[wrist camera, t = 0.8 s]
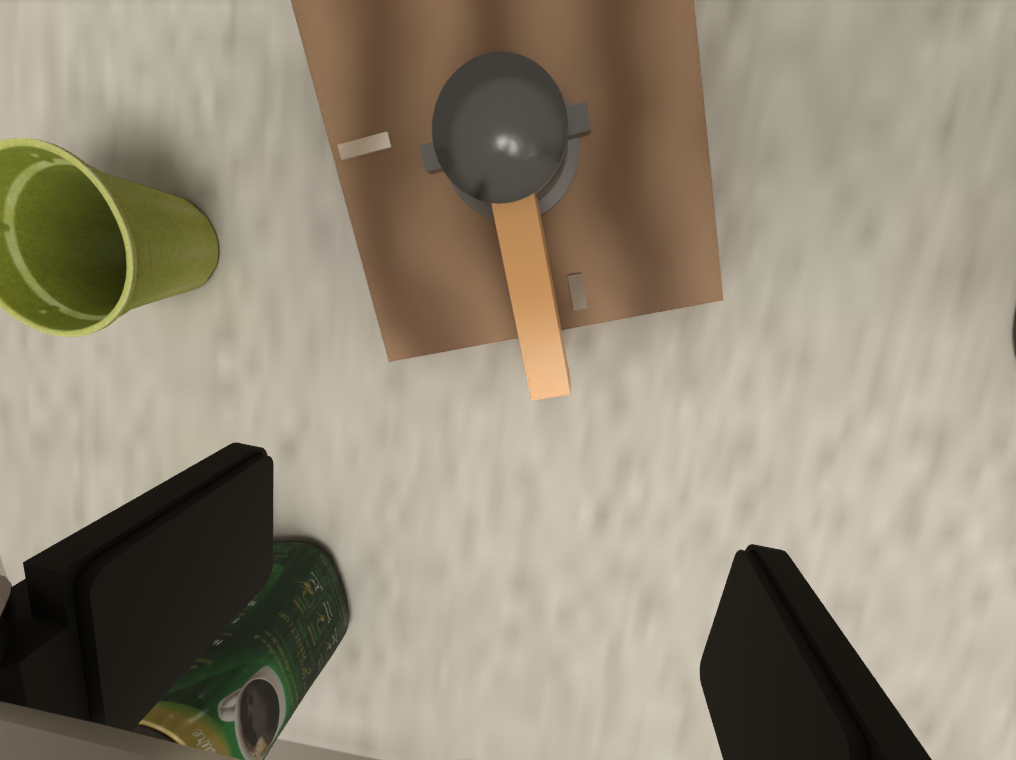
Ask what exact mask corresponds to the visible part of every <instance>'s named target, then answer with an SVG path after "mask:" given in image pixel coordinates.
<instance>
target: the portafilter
mask: <svg viewBox="0 0 1016 760" xmlns="http://www.w3.org/2000/svg"><path fill="white" fill-rule="evenodd" d="M590 133H591V127H590V120H589V113H588V107H587V101H586V102H582V103H578V104H575V105H571V106H567V107H566V106H565V102H564V99H563V97H562V94H561V92H560V90H559V88H558V86H557V84H556V83H555V81H554V80H553V78H552V77H551V76H550V75H549V73H548V72H547V71H546V70H545V69H544V68H543V67H541V66H540V65H539V64H538V63H536V62H535V61H533V60H531V59H530V58H527V57H525V56H523V55H520V54H516V53H512V52H491V53H486V54H483V55H480V56H477V57H475V58H473V59H471V60H469V61H467V62H466V63H465V64H463V65H462V66H461V67H459V68H458V69H457V70H456V71H455V72H454V73H453V74H452V75H451V77H450V78H449V79H448V80H447V82H446V83H445V85H444V86H443V88H442V90H441V92H440V94H439V96H438V98H437V101H436V105H435V108H434V113H433V118H432V139H433V142H430V143H426V144H423V145H419V146H420V150H421V154H422V159H423V163H424V167H425V172H427V173H429V174H431V175H432V174H436V173H440V172H444V173H445V174H446V175H447V177H448V178H449V179H450V181H451V182H452V183H453V184H454V185H455V186H456V187H457V188H459V189H460V190H461V191H462V192H464V193H466V194H467V195H469V196H471V197H473V198H474V199H476V200H478V201H480V202H482V203H484V204H486V205H488V206H491V207H492V209H493V214H494V219H495V224H496V229H497V234H498V239H499V244H500V249H501V253H502V258H503V263H504V268H505V273H506V278H507V283H508V288H509V293H510V298H511V303H512V308H513V313H514V317H515V322H516V327H517V332H518V337H519V342H520V347H521V352H522V357H523V362H524V367H525V372H526V377H527V381H528V386H529V391H530V396H531V401H533V400H539V399H546V398H552V397H558V396H564V395H570V394H571V388H570V374H569V368H568V363H567V357H566V352H565V346H564V341H563V335H562V330H561V324H560V319H559V313H558V308H557V302H556V297H555V291H554V286H553V280H552V274H551V269H550V263H549V258H548V252H547V247H546V241H545V236H544V230H543V225H542V219H541V214H540V208H539V203H538V201H539V200H541V199H542V198H543V197H545V196H546V195H547V194H548V193H549V192H550V191H551V190H552V189H553V187H554V186H555V185H556V183H557V182H558V180H559V178H560V176H561V174H562V172H563V169H564V167H565V163H566V159H567V153H568V140H572V139H576V138H580V137H584V136H588V135H590Z"/></svg>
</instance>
